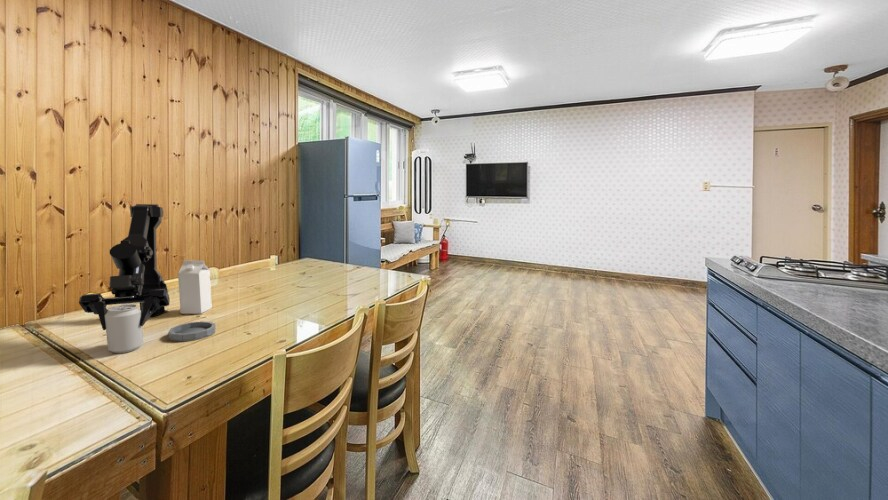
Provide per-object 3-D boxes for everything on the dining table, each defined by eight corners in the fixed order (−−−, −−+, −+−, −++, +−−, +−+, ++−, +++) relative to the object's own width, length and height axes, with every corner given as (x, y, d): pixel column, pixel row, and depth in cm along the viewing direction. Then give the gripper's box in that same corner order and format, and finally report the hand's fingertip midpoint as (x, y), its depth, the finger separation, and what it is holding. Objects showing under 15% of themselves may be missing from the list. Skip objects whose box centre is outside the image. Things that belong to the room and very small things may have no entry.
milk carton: (192, 308, 139) (189, 258, 136) (212, 308, 139) (209, 259, 137) (180, 314, 132) (177, 262, 129) (201, 314, 132) (198, 262, 130)
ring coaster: (159, 339, 108) (159, 333, 108) (190, 326, 120) (189, 320, 119) (196, 342, 107) (195, 335, 107) (223, 328, 118) (223, 322, 118)
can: (123, 355, 97) (119, 311, 95) (100, 352, 98) (96, 309, 97) (150, 345, 104) (147, 304, 103) (129, 342, 106) (125, 302, 104)
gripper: (77, 265, 97) (64, 317, 89) (165, 261, 106) (160, 308, 98) (91, 287, 105) (80, 337, 97) (171, 282, 114) (167, 327, 106)
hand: (123, 327), depth 99 cm, fingers closed on can, 7 cm apart
